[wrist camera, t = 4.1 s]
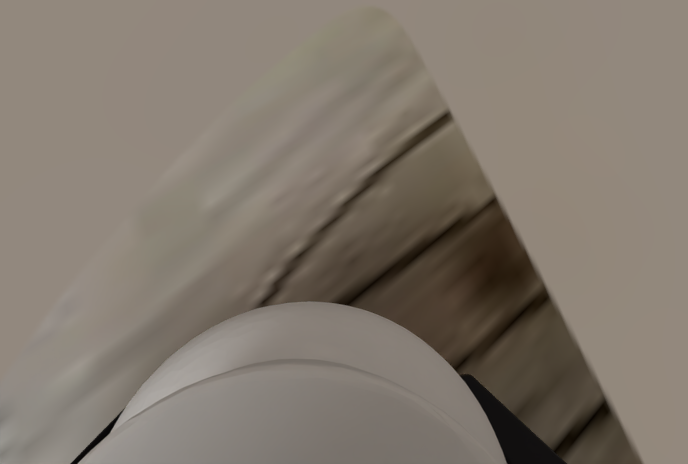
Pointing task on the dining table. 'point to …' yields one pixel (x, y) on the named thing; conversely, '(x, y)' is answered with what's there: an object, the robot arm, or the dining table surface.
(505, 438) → the robot arm
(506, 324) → the dining table surface
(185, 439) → the supplement bottle
